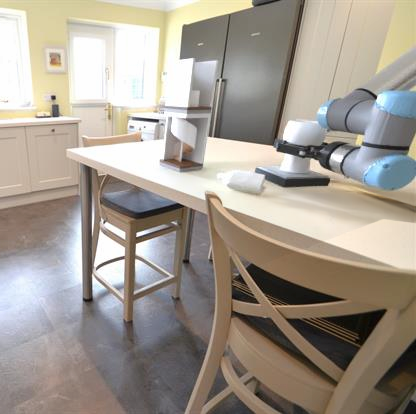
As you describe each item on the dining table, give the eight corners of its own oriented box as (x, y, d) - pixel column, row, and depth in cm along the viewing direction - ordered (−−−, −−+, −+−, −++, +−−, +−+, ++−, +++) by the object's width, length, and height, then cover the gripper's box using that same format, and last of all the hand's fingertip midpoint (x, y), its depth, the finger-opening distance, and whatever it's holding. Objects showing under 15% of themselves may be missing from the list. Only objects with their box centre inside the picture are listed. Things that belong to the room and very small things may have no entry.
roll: (218, 183, 86) (221, 165, 84) (261, 191, 80) (266, 172, 78) (212, 188, 81) (215, 169, 79) (258, 197, 75) (263, 176, 73)
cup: (278, 172, 87) (291, 122, 81) (272, 165, 96) (284, 119, 91) (319, 176, 84) (335, 124, 78) (308, 168, 93) (323, 121, 87)
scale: (295, 173, 99) (298, 165, 97) (330, 185, 86) (334, 176, 85) (253, 174, 96) (255, 165, 95) (283, 187, 84) (286, 177, 82)
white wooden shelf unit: (159, 164, 107) (168, 61, 94) (181, 162, 111) (193, 63, 98) (179, 172, 98) (193, 58, 84) (202, 169, 102) (218, 60, 89)
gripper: (291, 171, 72) (254, 154, 93) (386, 174, 71) (327, 156, 92) (299, 142, 70) (259, 130, 90) (398, 144, 69) (335, 132, 89)
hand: (293, 143), depth 91 cm, fingers open, 11 cm apart
